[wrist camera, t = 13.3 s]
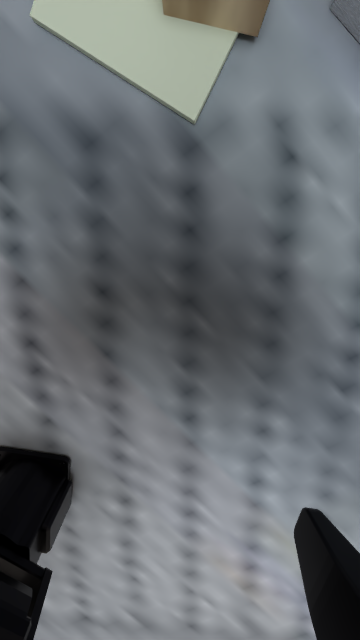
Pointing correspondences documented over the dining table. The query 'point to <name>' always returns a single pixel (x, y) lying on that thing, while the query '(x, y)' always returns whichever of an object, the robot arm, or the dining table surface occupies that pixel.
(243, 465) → the dining table surface
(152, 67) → the mat
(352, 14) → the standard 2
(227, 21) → the beech rail
